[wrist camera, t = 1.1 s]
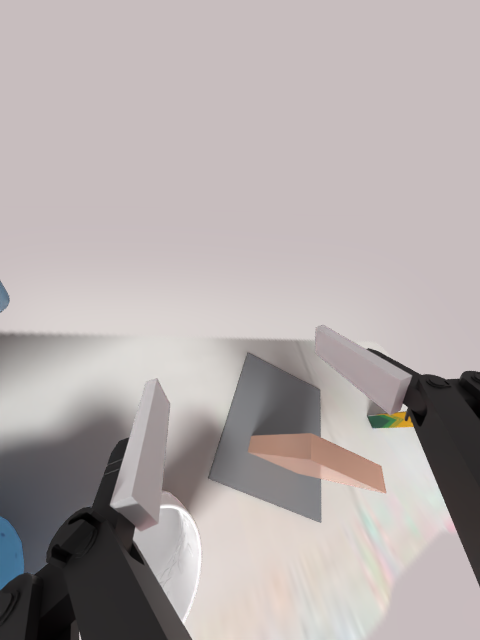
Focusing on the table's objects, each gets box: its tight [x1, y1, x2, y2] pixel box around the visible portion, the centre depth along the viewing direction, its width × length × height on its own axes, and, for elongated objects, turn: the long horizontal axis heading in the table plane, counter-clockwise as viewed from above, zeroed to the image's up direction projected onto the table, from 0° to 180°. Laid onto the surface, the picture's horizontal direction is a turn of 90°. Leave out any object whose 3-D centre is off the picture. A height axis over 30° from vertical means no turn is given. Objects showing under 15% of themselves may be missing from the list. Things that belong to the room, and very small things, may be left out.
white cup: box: [133, 490, 202, 624], centre depth 17 cm, size 8×8×10 cm
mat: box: [208, 353, 321, 523], centre depth 34 cm, size 20×22×1 cm
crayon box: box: [367, 411, 414, 428], centre depth 40 cm, size 7×3×12 cm, turn 95°
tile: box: [248, 433, 386, 493], centre depth 25 cm, size 10×2×15 cm, turn 71°
